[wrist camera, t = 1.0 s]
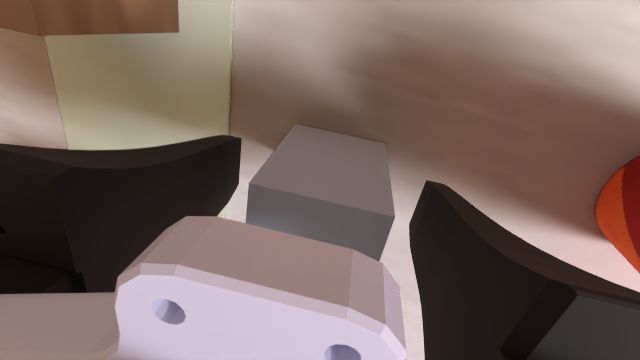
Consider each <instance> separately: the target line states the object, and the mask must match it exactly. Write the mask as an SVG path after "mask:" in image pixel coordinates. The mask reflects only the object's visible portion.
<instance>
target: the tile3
mask: <svg viewBox="0 0 640 360" xmlns="http://www.w3.org/2000/svg"><path fill="white" fill-rule="evenodd" d="M0 28H5V29H10V30H14V31H19V32H24V33H28V34H33V35H37V36H51V35H96V34H141V33H179V12H178V0H0Z"/></svg>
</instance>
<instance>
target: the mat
mask: <svg viewBox="0 0 640 360" xmlns="http://www.w3.org/2000/svg"><path fill="white" fill-rule="evenodd" d="M178 12H179V33H141V34H96V35H51V36H44V38H45V43H46V48H47V52H48V57H49V62H50V66H51V71H52V76H53V80H54V85H55V89H56V94H57V99H58V103H59V108H60V113H61V117H62V122H63V127H64V131H65V136H66V140H67V145H68V150H123V149H136V148H147V147H155V146H162V145H168V144H174V143H180V142H185V141H190V140H195V139H200V138H205V137H211V136H217V135H228V134H229V111H230V87H231V64H232V41H233V18H234V0H178ZM217 217H221V218H225V207H224V208H223V210H222V211H221V212H220V213H219V215H218V216H217Z"/></svg>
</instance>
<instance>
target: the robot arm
mask: <svg viewBox="0 0 640 360" xmlns="http://www.w3.org/2000/svg"><path fill="white" fill-rule="evenodd" d="M240 153H241V138H238V137H233V136H229V135H217V136H211V137H205V138H200V139H195V140H190V141H185V142H180V143H174V144H168V145H162V146H155V147H147V148H136V149H123V150H68V149H50V148H38V147H28V146H19V145H9V144H0V360H406V345H405V335H404V326H403V317H402V307H401V298H400V289H399V285H398V284H397V282H396V281H395V280H394V278H393V277H392V275H391V274H390V273H389V271H388V270H387V269H386V267H385V266H384V264H383V263H381V262H379V261H377V260H374V259H372V258H370V257H368V256H366V255H364V254H362V253H360V252H358V251H356V250H354V249H350V248H346V247H341V246H337V245H333V244H329V243H325V242H321V241H317V240H312V239H308V238H304V237H300V236H296V235H292V234H287V233H283V232H279V231H275V230H271V229H267V228H262V227H258V226H254V225H250V224H246V223H242V222H237V221H233V220H229V219H225V218H221V217H217V216H218V215H219V213H220V212H221V211H222V210H223V208H224V207H225V206H226V205H227V203H228V202H229V200H230V199H231V197H232V195H233V194H234V192H235V190H236V188H237V186H238V184H239V170H240ZM409 235H410V248H411V254H412V259H413V264H414V269H415V274H416V279H417V284H418V289H419V294H420V300H421V307H422V319H423V332H424V351H425V360H640V292H637V291H634V290H632V289H629V288H626V287H623V286H621V285H618V284H615V283H612V282H610V281H607V280H605V279H603V278H600V277H598V276H596V275H593V274H591V273H588V272H586V271H584V270H581V269H579V268H577V267H575V266H573V265H570V264H568V263H566V262H564V261H562V260H560V259H558V258H556V257H554V256H552V255H550V254H548V253H546V252H544V251H542V250H540V249H538V248H536V247H535V246H533V245H531V244H529V243H527V242H526V241H524V240H522V239H521V238H519V237H517V236H516V235H514V234H512V233H511V232H509V231H508V230H506V229H505V228H503V227H502V226H500V225H499V224H497V223H496V222H494V221H493V220H492V219H490V218H489V217H487V216H486V215H485V214H483V213H482V212H481V211H479V210H478V209H477V208H475V207H474V206H473V205H472V204H470V203H469V202H468V201H466V200H465V199H464V198H463V197H461V196H460V195H459V194H457V193H456V192H455V191H453V190H452V189H451V188H449V187H448V186H446V185H444V184H441V183H437V182H433V181H428V180H426V182H425V185H424V188H423V190H422V193H421V195H420V198H419V200H418V203H417V206H416V208H415V211H414V213H413V216H412V219H411V221H410V224H409Z"/></svg>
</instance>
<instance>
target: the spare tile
mask: <svg viewBox="0 0 640 360" xmlns="http://www.w3.org/2000/svg"><path fill="white" fill-rule="evenodd" d="M394 218H395V214H394V206H393V198H392V191H391V183H390V175H389V167H388V159H387V152H386V144H385V143H381V142H376V141H372V140H367V139H363V138H358V137H354V136H349V135H345V134H340V133H336V132H331V131H326V130H322V129H317V128H313V127H308V126H304V125H299V124H295V125H294V126H293V128H292V129H291V130H290V131H289V133H288V134H287V135H286V137H285V138H284V139H283V140H282V142H281V143H280V144H279V145H278V147H277V148H276V149H275V151H274V152H273V153H272V154H271V156H270V157H269V158H268V159H267V161H266V162H265V163H264V165H263V166H262V167H261V168H260V170H259V171H258V172H257V173H256V175H255V176H254V177H253V179H252V180H251V181H250V182H249V190H248V202H247V214H246V224H250V225H254V226H258V227H262V228H267V229H271V230H275V231H279V232H283V233H287V234H292V235H296V236H300V237H304V238H308V239H312V240H317V241H321V242H325V243H329V244H333V245H337V246H341V247H346V248H350V249H354V250H356V251H358V252H360V253H362V254H364V255H366V256H368V257H370V258H372V259H374V260H377V261H379V260H380V258H381V255H382V252H383V249H384V246H385V243H386V241H387V238H388V235H389V232H390V229H391V226H392V224H393V221H394Z"/></svg>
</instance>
